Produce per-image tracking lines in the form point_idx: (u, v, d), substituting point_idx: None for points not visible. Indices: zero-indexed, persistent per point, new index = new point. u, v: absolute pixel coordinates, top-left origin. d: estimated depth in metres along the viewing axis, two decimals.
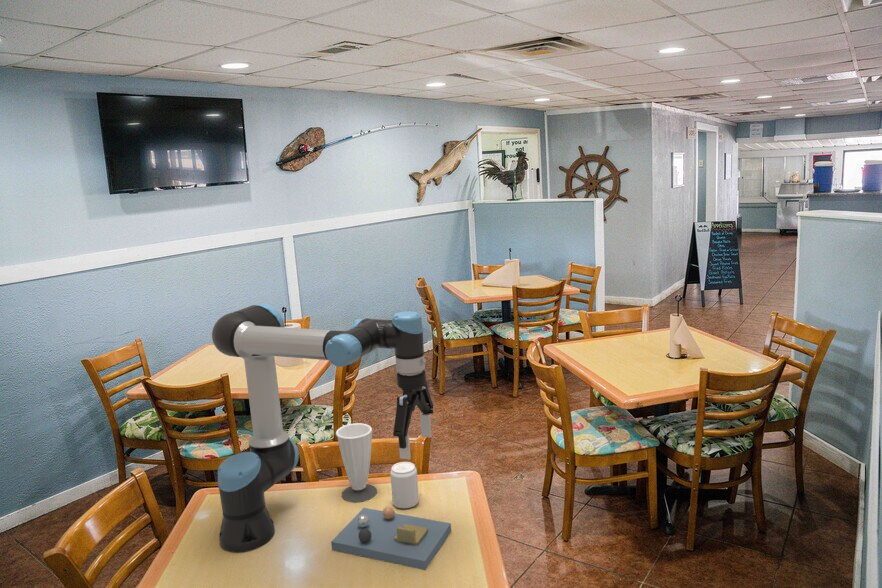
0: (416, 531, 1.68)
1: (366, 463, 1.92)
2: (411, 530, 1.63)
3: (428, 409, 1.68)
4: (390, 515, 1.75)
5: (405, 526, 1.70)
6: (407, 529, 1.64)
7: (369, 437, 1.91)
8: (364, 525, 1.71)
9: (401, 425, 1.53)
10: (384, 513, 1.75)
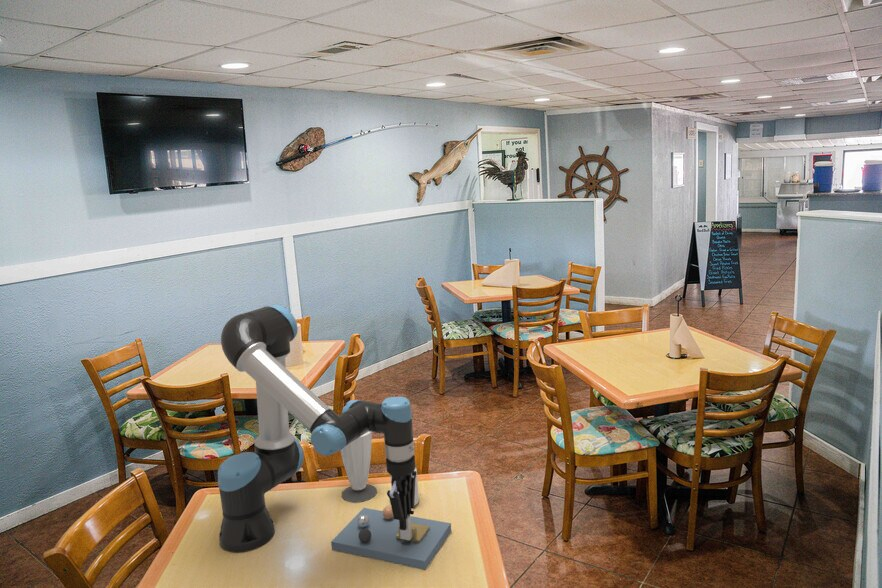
0: (418, 529, 1.69)
1: (366, 463, 1.92)
2: (413, 528, 1.64)
3: (409, 507, 1.63)
4: (390, 515, 1.75)
5: None
6: None
7: (369, 437, 1.91)
8: (364, 525, 1.71)
9: (399, 513, 1.58)
10: (384, 513, 1.75)
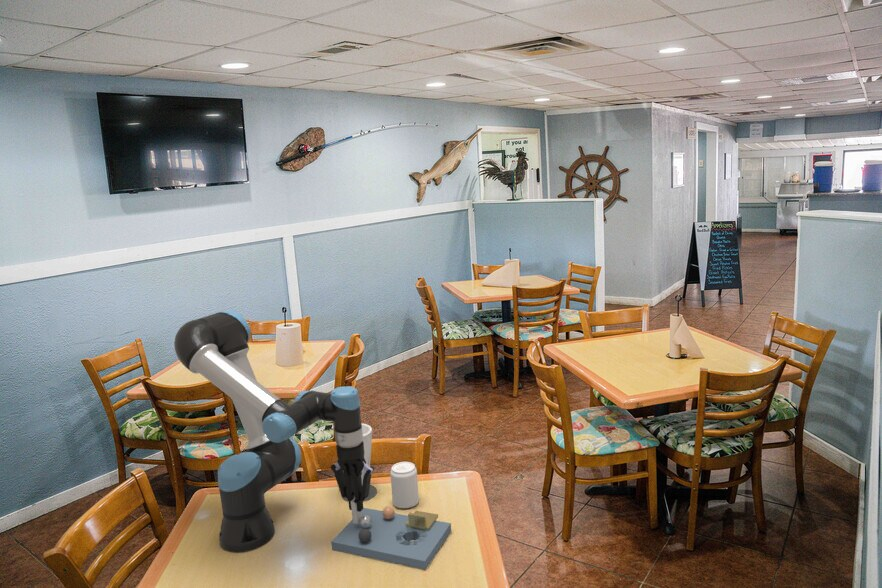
0: (427, 517, 1.74)
1: (366, 463, 1.92)
2: (422, 516, 1.69)
3: (356, 495, 1.70)
4: (390, 515, 1.75)
5: (416, 512, 1.77)
6: (418, 515, 1.70)
7: (369, 437, 1.91)
8: (366, 527, 1.71)
9: None
10: (384, 513, 1.75)
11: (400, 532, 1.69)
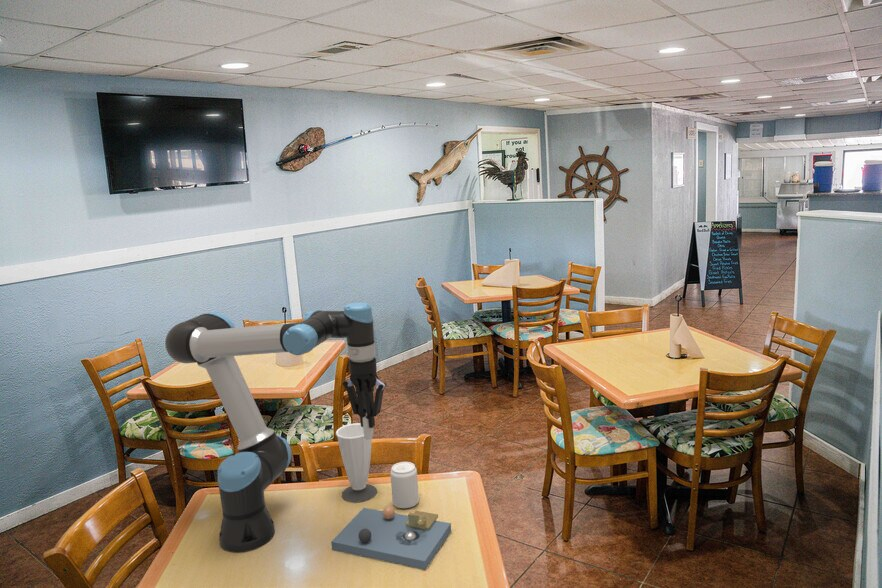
0: (427, 517, 1.74)
1: (366, 463, 1.92)
2: (422, 516, 1.69)
3: (368, 411, 1.72)
4: (390, 515, 1.75)
5: (416, 512, 1.77)
6: (418, 515, 1.70)
7: None
8: (404, 538, 1.67)
9: None
10: (384, 513, 1.75)
11: (400, 532, 1.69)
